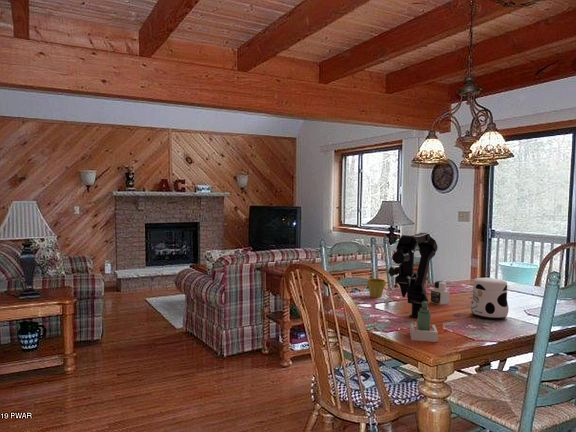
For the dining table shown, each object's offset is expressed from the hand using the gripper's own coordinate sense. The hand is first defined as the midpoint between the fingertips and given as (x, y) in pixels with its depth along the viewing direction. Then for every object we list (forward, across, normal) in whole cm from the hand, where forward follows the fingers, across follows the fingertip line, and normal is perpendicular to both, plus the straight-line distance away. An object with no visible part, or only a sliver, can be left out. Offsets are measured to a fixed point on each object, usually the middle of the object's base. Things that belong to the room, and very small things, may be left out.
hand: (406, 295), depth 210 cm
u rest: (+14, +17, +12) cm, 25 cm away
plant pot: (+12, -44, -28) cm, 54 cm away
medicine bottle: (+12, -48, +7) cm, 50 cm away
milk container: (+12, -33, +33) cm, 49 cm away
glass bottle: (+13, +17, +12) cm, 24 cm away
